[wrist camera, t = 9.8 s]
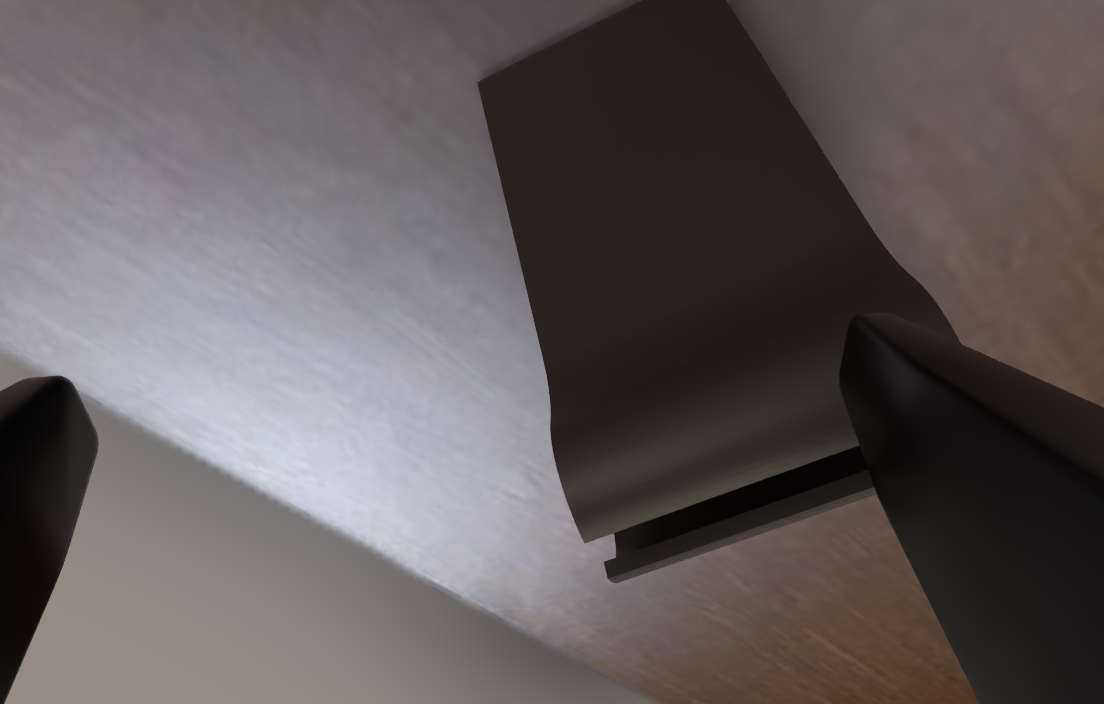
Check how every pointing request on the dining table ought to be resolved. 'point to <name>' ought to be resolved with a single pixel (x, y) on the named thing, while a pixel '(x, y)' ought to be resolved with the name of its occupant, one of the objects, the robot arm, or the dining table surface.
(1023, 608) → the robot arm
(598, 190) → the phone stand
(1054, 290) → the dining table surface
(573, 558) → the dining table surface
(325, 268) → the dining table surface
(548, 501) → the dining table surface
